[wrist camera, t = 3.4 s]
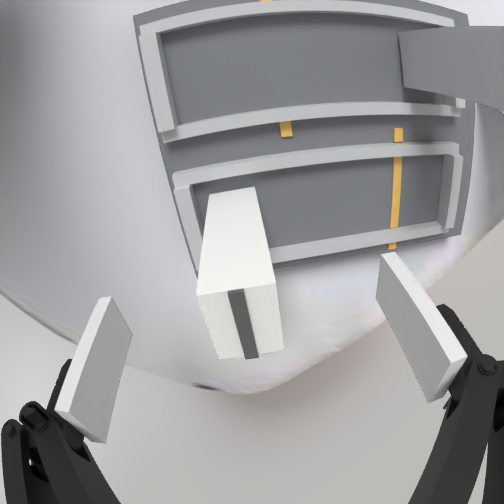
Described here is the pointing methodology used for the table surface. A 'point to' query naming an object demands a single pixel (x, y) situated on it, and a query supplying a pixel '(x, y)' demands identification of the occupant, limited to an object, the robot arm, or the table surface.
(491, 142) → the table surface
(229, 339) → the block
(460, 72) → the fader
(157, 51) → the grey flat tray
